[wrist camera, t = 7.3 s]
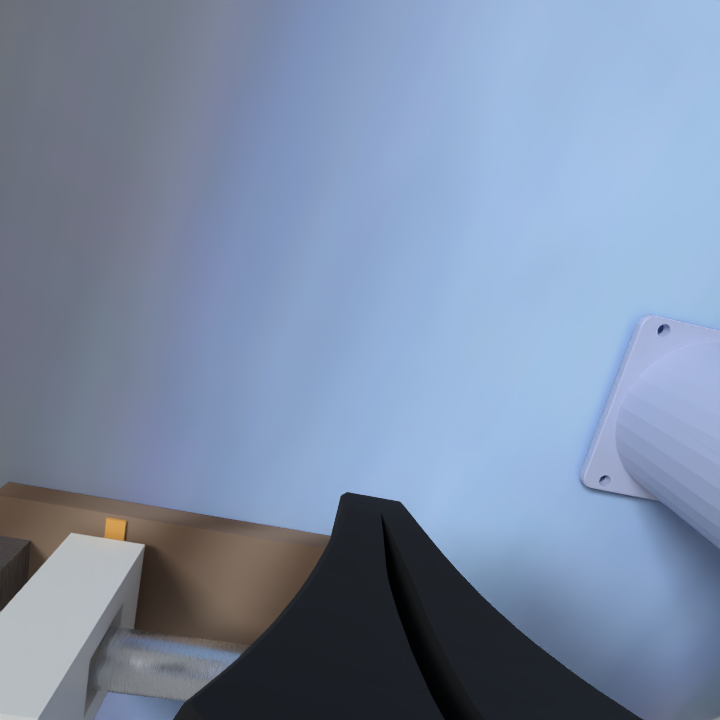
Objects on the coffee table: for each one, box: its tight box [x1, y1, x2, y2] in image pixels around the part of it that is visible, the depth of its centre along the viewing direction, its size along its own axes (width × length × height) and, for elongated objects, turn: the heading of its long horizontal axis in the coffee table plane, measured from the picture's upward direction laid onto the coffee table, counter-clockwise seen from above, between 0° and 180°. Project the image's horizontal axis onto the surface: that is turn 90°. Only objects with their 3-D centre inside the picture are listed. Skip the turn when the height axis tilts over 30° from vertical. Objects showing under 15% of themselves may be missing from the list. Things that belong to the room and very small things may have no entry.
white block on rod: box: [0, 533, 145, 720], centre depth 17 cm, size 3×5×7 cm, turn 167°
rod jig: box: [0, 482, 331, 702], centre depth 19 cm, size 15×7×6 cm, turn 77°
